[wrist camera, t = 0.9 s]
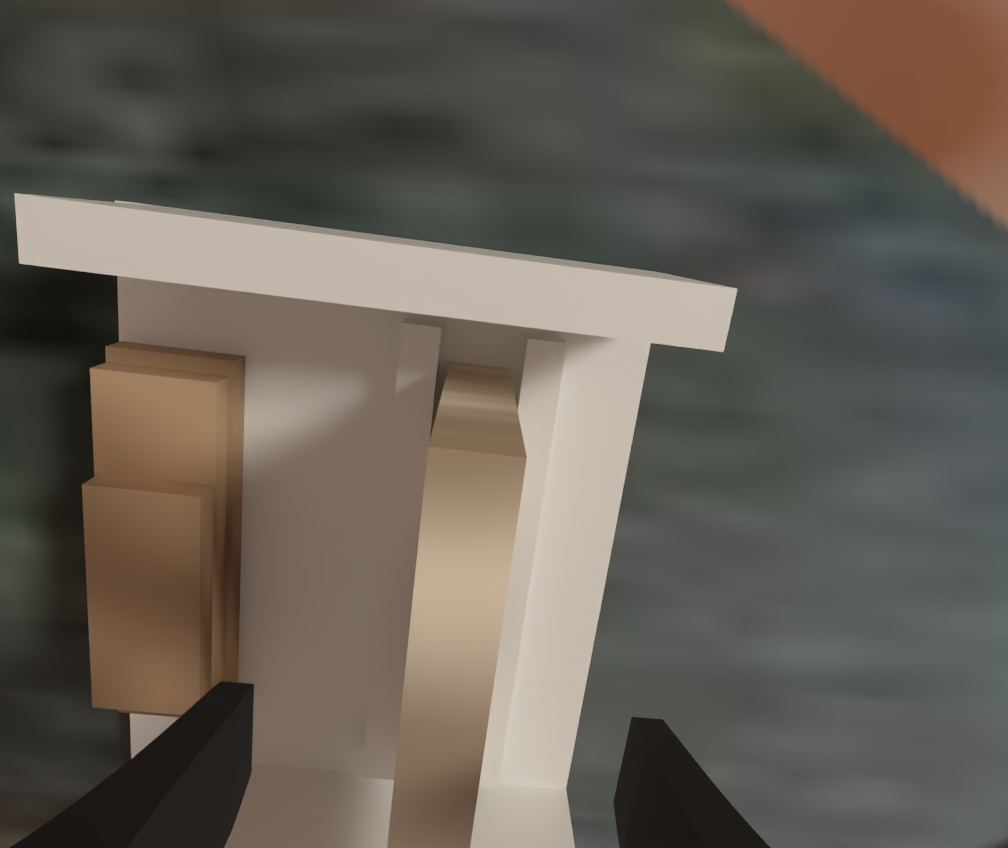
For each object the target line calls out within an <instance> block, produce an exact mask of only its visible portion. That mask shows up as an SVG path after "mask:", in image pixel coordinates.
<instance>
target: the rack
mask: <svg viewBox="0 0 1008 848" xmlns="http://www.w3.org/2000/svg"><path fill="white" fill-rule="evenodd" d="M15 208H16V223H17V238H18V252H19V264H27V265H35V266H43V267H51V268H59V269H66V270H74V271H82V272H90V273H98V274H106V275H114V276H117V286H118V320H119V342H121V341H124V342H133V343H141V344H150V345H158V346H166V347H175V348H183V349H191V350H200V351H208V352H217V353H225V354H233V355H242V356H246V360H245V403H244V446H243V489H242V532H241V575H240V618H239V661H238V683H249V684H254V704H253V738H252V772H251V776H250V779H249V782H248V785H247V788H246V791H245V794H244V797H243V800H242V803H241V806H240V809H239V812H238V815H237V818H236V820H235V823H234V826H233V829H232V831H231V834H230V836H229V838H228V840H227V843H226V845H225V847H224V848H387V843H388V833H389V824H390V814H391V804H392V794H393V785H394V775H395V765H396V755H397V746H398V736H399V726H400V717H401V707H402V697H403V687H404V678H405V668H406V658H407V648H408V639H409V629H410V619H411V609H412V600H413V590H414V580H415V571H416V561H417V551H418V541H419V532H420V522H421V512H422V502H423V493H424V483H425V473H426V464H427V454H428V446H429V442H430V438H431V434H432V430H433V426H434V422H435V418H436V414H437V410H438V406H439V403H440V399H441V395H442V391H443V387H444V383H445V379H446V375H447V371H448V367H449V363H450V361H453V362H462V363H470V364H478V365H486V366H495V367H503V368H509V371H510V376H511V381H512V386H513V391H514V396H515V401H516V406H517V411H518V416H519V421H520V426H521V431H522V436H523V441H524V446H525V451H526V456H527V460H526V467H525V474H524V481H523V488H522V495H521V501H520V508H519V515H518V522H517V529H516V536H515V543H514V549H513V556H512V563H511V570H510V577H509V584H508V591H507V597H506V604H505V611H504V618H503V625H502V632H501V639H500V645H499V652H498V659H497V666H496V673H495V680H494V687H493V693H492V700H491V707H490V714H489V721H488V728H487V734H486V741H485V748H484V755H483V762H482V769H481V776H480V782H479V789H478V796H477V803H476V810H475V817H474V824H473V830H472V837H471V844H470V848H575V846H574V839H573V832H572V826H571V819H570V813H569V806H568V799H567V793H566V786H567V781H568V776H569V770H570V765H571V760H572V755H573V749H574V744H575V739H576V734H577V728H578V723H579V718H580V713H581V707H582V702H583V697H584V691H585V686H586V681H587V676H588V670H589V665H590V660H591V655H592V649H593V644H594V639H595V634H596V628H597V623H598V618H599V613H600V607H601V602H602V597H603V591H604V586H605V581H606V576H607V570H608V565H609V560H610V555H611V549H612V544H613V539H614V534H615V528H616V523H617V518H618V513H619V507H620V502H621V497H622V491H623V486H624V481H625V476H626V470H627V465H628V460H629V455H630V449H631V444H632V439H633V434H634V428H635V423H636V418H637V413H638V407H639V402H640V397H641V391H642V386H643V381H644V376H645V370H646V365H647V360H648V355H649V349H650V344H651V343H656V344H664V345H672V346H680V347H688V348H696V349H704V350H712V351H720V352H724V348H725V343H726V339H727V334H728V330H729V325H730V321H731V316H732V312H733V307H734V303H735V298H736V293H737V289H736V288H731V287H727V286H722V285H717V284H712V283H708V282H703V281H698V280H693V279H688V278H684V277H679V276H674V275H669V274H664V273H660V272H654V271H647V270H639V269H631V268H624V267H616V266H609V265H601V264H594V263H586V262H579V261H571V260H564V259H556V258H549V257H541V256H534V255H526V254H518V253H511V252H503V251H496V250H488V249H481V248H473V247H466V246H458V245H451V244H443V243H436V242H428V241H421V240H413V239H405V238H398V237H390V236H383V235H375V234H368V233H360V232H353V231H345V230H338V229H330V228H323V227H315V226H308V225H300V224H292V223H285V222H277V221H270V220H262V219H255V218H247V217H240V216H232V215H225V214H217V213H210V212H202V211H194V210H187V209H179V208H172V207H164V206H157V205H149V204H142V203H134V202H125V201H115V202H106V201H95V200H84V199H73V198H62V197H50V196H39V195H28V194H17V193H15ZM178 718H179V717H169V716H157V715H145V714H133V713H130V735H131V759H132V758H133V757H134V756H135V755H136V754H138V753H139V752H140V751H141V750H142V749H144V748H145V747H146V746H147V745H148V744H149V743H151V742H152V741H153V740H154V739H155V738H157V737H158V736H159V735H160V734H161V733H162V732H164V731H165V730H166V729H167V728H168V727H169V726H170V725H171V724H173V723H174V722H175V721H176V720H177V719H178Z"/></svg>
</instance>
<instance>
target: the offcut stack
mask: <svg viewBox="0 0 1008 848" xmlns="http://www.w3.org/2000/svg"><path fill="white" fill-rule="evenodd" d="M105 352H106V363H103V364H100V365H97V366H94V367H91V368H90V384H91V408H92V432H93V457H94V477H93V478H92V479H90V480H89V481H87V482H85V483H84V484H82V499H83V520H84V541H85V563H86V584H87V605H88V626H89V648H90V669H91V690H92V707H93V708H104V709H116V710H118V712H121V713H133V714H145V715H157V716H169V717H181V716H182V715H183V714H184V713H185V712H186V711H187V710H188V709H189V708H191V707H192V706H193V705H194V704H195V703H196V702H197V701H198V700H199V699H200V698H202V697H203V696H204V695H205V694H206V693H207V692H208V691H209V690H210V689H212V688H213V687H214V686H215V685H216V684H218V683H219V682H220V681H226V682H238V661H239V618H240V575H241V532H242V489H243V446H244V403H245V360H246V356H242V355H233V354H225V353H217V352H208V351H200V350H191V349H183V348H175V347H166V346H158V345H150V344H141V343H133V342H124V341H121V342H118V343H114V344H111V345H107V346H105Z"/></svg>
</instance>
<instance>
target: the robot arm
mask: <svg viewBox="0 0 1008 848" xmlns="http://www.w3.org/2000/svg"><path fill="white" fill-rule="evenodd" d="M253 704H254V684H249V683H238V682H226V681H220V682H219V683H218V684H216V685H215V686H214V687H213V688H212V689H210V690H209V691H208V692H207V693H206V694H205V695H204V696H203V697H202V698H200V699H199V700H198V701H197V702H196V703H195V704H194V705H193V706H192V707H191V708H189V709H188V710H187V711H186V712H185V713H184V714H183V715H182V716H181V717H179V718H178V719H177V720H176V721H175V722H174V723H173V724H171V725H170V726H169V727H168V728H167V729H166V730H165V731H164V732H162V733H161V734H160V735H159V736H158V737H157V738H155V739H154V740H153V741H152V742H151V743H149V744H148V745H147V746H146V747H145V748H144V749H142V750H141V751H140V752H139V753H138V754H136V755H135V756H134V757H133V758H132V759H131V760H129V761H128V762H127V763H126V764H124V765H123V766H122V767H121V768H119V769H118V770H117V771H116V772H114V773H113V774H112V775H110V776H109V777H108V778H107V779H105V780H104V781H103V782H101V783H100V784H99V785H98V786H96V787H95V788H94V789H92V790H91V791H90V792H89V793H87V794H86V795H85V796H83V797H82V798H81V799H79V800H78V801H77V802H75V803H74V804H73V805H71V806H70V807H69V808H67V809H66V810H64V811H63V812H62V813H60V814H59V815H57V816H56V817H55V818H53V819H52V820H50V821H49V822H48V823H46V824H45V825H43V826H42V827H40V828H39V829H37V830H36V831H34V832H33V833H31V834H30V835H28V836H27V837H25V838H24V839H22V840H21V841H19V842H18V843H16V844H15V845H13V846H12V847H10V848H224V847H225V845H226V843H227V840H228V838H229V836H230V834H231V831H232V829H233V826H234V823H235V820H236V818H237V815H238V812H239V809H240V806H241V803H242V800H243V797H244V794H245V791H246V788H247V785H248V782H249V779H250V776H251V772H252V738H253ZM614 809H615V817H616V825H617V833H618V839H619V846H620V848H770V847H769V846H768V845H767V844H766V843H765V841H764V840H763V839H762V838H761V837H760V836H759V835H758V834H757V833H756V832H755V831H754V830H753V829H752V828H751V826H750V825H749V824H748V823H747V822H746V821H745V820H744V818H743V817H742V816H741V815H740V814H739V813H738V812H737V811H736V809H735V808H734V807H733V806H732V805H731V804H730V802H729V801H728V800H727V799H726V798H725V796H724V795H723V794H722V793H721V792H720V791H719V789H718V788H717V787H716V786H715V785H714V783H713V782H712V781H711V780H710V778H709V777H708V776H707V775H706V773H705V772H704V771H703V770H702V768H701V767H700V766H699V765H698V763H697V762H696V761H695V760H694V758H693V757H692V756H691V755H690V753H689V752H688V751H687V750H686V748H685V747H684V746H683V744H682V743H681V742H680V741H679V739H678V738H677V737H676V736H675V734H674V733H673V732H672V731H671V729H670V728H669V727H668V726H667V724H666V723H665V722H664V721H663V720H661V719H650V718H638V717H632V719H631V724H630V728H629V733H628V737H627V742H626V747H625V751H624V756H623V760H622V765H621V770H620V774H619V779H618V783H617V788H616V793H615V797H614Z"/></svg>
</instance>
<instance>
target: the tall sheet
mask: <svg viewBox="0 0 1008 848" xmlns="http://www.w3.org/2000/svg"><path fill="white" fill-rule="evenodd" d="M526 460H527V456H526V451H525V446H524V441H523V436H522V431H521V426H520V421H519V416H518V411H517V406H516V401H515V396H514V391H513V386H512V381H511V376H510V371H509V368H503V367H495V366H486V365H478V364H470V363H462V362H453V361H450V363H449V367H448V371H447V375H446V379H445V383H444V387H443V391H442V395H441V399H440V403H439V406H438V410H437V414H436V418H435V422H434V426H433V430H432V434H431V438H430V442H429V446H428V454H427V464H426V473H425V483H424V493H423V502H422V512H421V522H420V532H419V541H418V551H417V561H416V571H415V580H414V590H413V600H412V609H411V619H410V629H409V639H408V648H407V658H406V668H405V678H404V687H403V697H402V707H401V717H400V726H399V736H398V746H397V755H396V765H395V775H394V785H393V794H392V804H391V814H390V824H389V833H388V843H387V848H470V844H471V837H472V830H473V824H474V817H475V810H476V803H477V796H478V789H479V782H480V776H481V769H482V762H483V755H484V748H485V741H486V734H487V728H488V721H489V714H490V707H491V700H492V693H493V687H494V680H495V673H496V666H497V659H498V652H499V645H500V639H501V632H502V625H503V618H504V611H505V604H506V597H507V591H508V584H509V577H510V570H511V563H512V556H513V549H514V543H515V536H516V529H517V522H518V515H519V508H520V501H521V495H522V488H523V481H524V474H525V467H526Z"/></svg>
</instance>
